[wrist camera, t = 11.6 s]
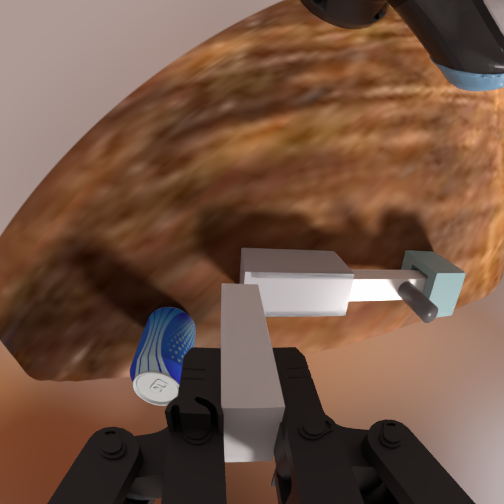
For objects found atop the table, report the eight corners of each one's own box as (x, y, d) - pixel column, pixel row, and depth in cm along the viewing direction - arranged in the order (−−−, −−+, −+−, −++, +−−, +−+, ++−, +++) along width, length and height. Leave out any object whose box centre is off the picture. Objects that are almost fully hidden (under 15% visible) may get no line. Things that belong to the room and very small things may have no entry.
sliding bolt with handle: (312, 268, 44) (337, 307, 34) (436, 270, 47) (474, 299, 36) (308, 290, 46) (331, 332, 35) (430, 288, 48) (466, 319, 38)
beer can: (202, 338, 52) (196, 406, 37) (158, 345, 52) (141, 411, 37) (188, 298, 49) (175, 363, 34) (141, 307, 49) (115, 370, 34)
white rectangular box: (241, 247, 46) (244, 271, 38) (334, 251, 48) (354, 273, 40) (239, 286, 49) (242, 316, 40) (327, 287, 50) (345, 315, 42)
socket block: (405, 250, 49) (437, 273, 40) (433, 251, 50) (465, 273, 40) (395, 290, 52) (422, 318, 42) (423, 289, 52) (451, 315, 43)
